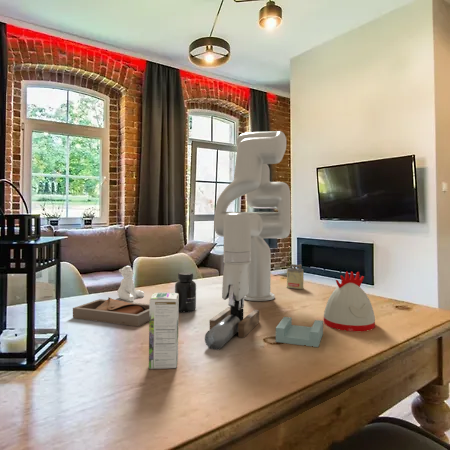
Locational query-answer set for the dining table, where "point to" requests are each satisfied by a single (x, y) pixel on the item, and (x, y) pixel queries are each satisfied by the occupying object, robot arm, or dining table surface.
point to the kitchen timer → (349, 306)
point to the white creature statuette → (128, 286)
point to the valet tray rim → (110, 314)
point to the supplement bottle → (186, 292)
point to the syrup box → (163, 330)
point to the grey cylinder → (222, 332)
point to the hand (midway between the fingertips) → (237, 322)
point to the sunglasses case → (120, 307)
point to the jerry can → (295, 277)
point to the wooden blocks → (243, 326)
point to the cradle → (299, 333)
